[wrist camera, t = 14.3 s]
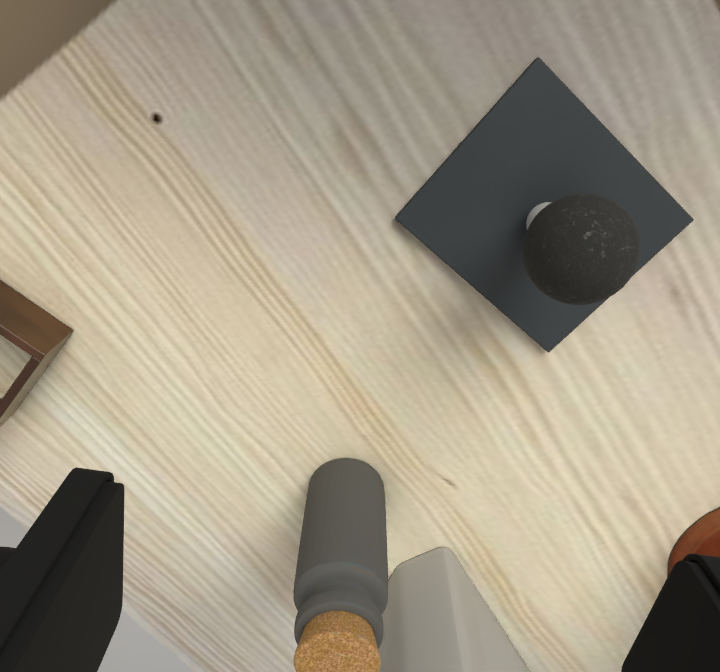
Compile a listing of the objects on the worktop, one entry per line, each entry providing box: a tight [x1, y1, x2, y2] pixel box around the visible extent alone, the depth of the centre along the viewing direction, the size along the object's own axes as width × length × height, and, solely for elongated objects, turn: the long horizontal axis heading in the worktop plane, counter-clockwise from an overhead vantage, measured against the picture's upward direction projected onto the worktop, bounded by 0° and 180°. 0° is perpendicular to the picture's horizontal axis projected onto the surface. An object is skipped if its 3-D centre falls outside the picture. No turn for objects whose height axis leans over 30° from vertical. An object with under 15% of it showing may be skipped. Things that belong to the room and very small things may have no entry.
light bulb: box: [523, 193, 640, 305], centre depth 33 cm, size 6×6×10 cm
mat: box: [395, 58, 693, 352], centre depth 38 cm, size 14×12×1 cm
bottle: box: [294, 458, 388, 672], centre depth 39 cm, size 6×6×15 cm
